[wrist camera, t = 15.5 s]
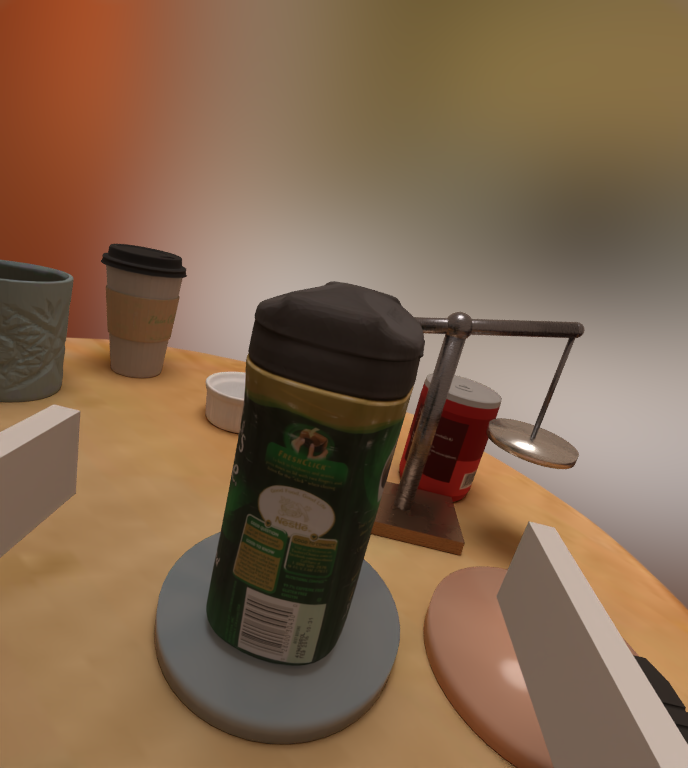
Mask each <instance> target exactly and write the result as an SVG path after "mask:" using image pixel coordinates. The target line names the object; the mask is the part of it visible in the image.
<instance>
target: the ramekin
mask: <svg viewBox="0 0 688 768" xmlns="http://www.w3.org/2000/svg"><path fill="white" fill-rule="evenodd" d="M245 378H246V373H243V372H221V373H216V374H213V375H210V376H209V377H208V378H207V379H206V388H207V398H206V417H207V419H208V420H209V421H210V422H211V423H212V424H213V425H215V426H217V427H218V428H221V429H223V430H226V431H230V432H234V433H239V431H240V424H241V418H242V412H243V403H244V393H245Z"/></svg>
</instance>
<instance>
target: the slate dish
mask: <svg viewBox="0 0 688 768" xmlns="http://www.w3.org/2000/svg"><path fill="white" fill-rule="evenodd" d="M220 533H221V532H219V533H217V534H214V535H212V536H210V537H208V538H206V539H204V540H202V541H201V542H199V543H197V544H196V545H194V546H193V547H192V548H191V549H189V550H188V551H187V552H185V553H184V555H183V556H182V557H181V558H180V559H179V560H178V561H177V562H176V563H175V564H174V566H173V567H172V569H171V570H170V571H169V573H168V575H167V577H166V579H165V581H164V583H163V586H162V589H161V592H160V595H159V601H158V607H157V615H156V622H155V648H156V653H157V659H158V661H159V664H160V667H161V670H162V672H163V675H164V676H165V678H166V680H167V682H168V684H169V685H170V687H171V689H172V690H173V691H174V692H175V694H176V695H177V696H178V697H179V699H180V700H181V701H182V702H183V703H184V704H185V705H186V706H187V707H188V708H189V709H190V710H191V711H192V712H193V713H195V714H196V715H197V716H199V717H200V718H201V719H203V720H204V721H206V722H207V723H209V724H210V725H212V726H214V727H216V728H218V729H220V730H222V731H224V732H226V733H228V734H231V735H234V736H237V737H240V738H244V739H247V740H251V741H257V742H263V743H269V744H293V743H301V742H309V741H312V740H316V739H320V738H324V737H327V736H329V735H331V734H334V733H336V732H338V731H340V730H343V729H344V728H346V727H347V726H349V725H350V724H352V723H354V722H355V721H357V720H358V719H359V718H360V717H361V716H362V715H363V714H365V713H366V712H367V711H368V710H369V709H370V708H371V706H372V705H373V704H374V703H375V701H376V700H377V699H378V698H379V696H380V694H381V692H382V691H383V689H384V687H385V685H386V683H387V680H388V677H389V675H390V672H391V669H392V666H393V663H394V660H395V658H396V655H397V651H398V646H399V641H400V624H399V616H398V612H397V609H396V605H395V602H394V600H393V598H392V595H391V593H390V591H389V589H388V588H387V586H386V584H385V583H384V581H383V580H382V578H381V577H380V576H379V574H378V573H377V572H376V571H375V570H374V569H373V568H372V567H371V565H370V564H369V563H368V562H366V561H365V560H364V559H363V563H362V567H361V571H360V575H359V579H358V582H357V585H356V589H355V592H354V595H353V599H352V602H351V605H350V609H349V612H348V615H347V619H346V622H345V624H344V627H343V630H342V632H341V635H340V637H339V639H338V641H337V643H336V645H335V647H334V648H333V649H332V650H331V652H330V653H329V654H328V655H327V656H326V657H324V658H322V659H321V660H319V661H317V662H315V663H312V664H307V665H300V666H291V665H283V664H274V663H269V662H266V661H263V660H260V659H257V658H254V657H252V656H249V655H247V654H245V653H243V652H241V651H239V650H237V649H236V648H234V647H233V646H231V645H230V644H228V643H226V642H225V641H224V640H222V639H221V638H220V637H219V636H218V635H217V634H216V633H215V632H214V630H213V629H212V627H211V626H210V623H209V621H208V618H207V613H206V604H207V598H208V593H209V588H210V582H211V577H212V571H213V566H214V562H215V557H216V552H217V547H218V542H219V538H220Z"/></svg>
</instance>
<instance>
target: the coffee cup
mask: <svg viewBox="0 0 688 768" xmlns="http://www.w3.org/2000/svg"><path fill="white" fill-rule="evenodd" d="M101 262H102V263H103V264H105V265H106V267H107V286H106V302H107V325H108V332H109V338H110V359H111V369H112V370H113V371H114V372H116V373H118V374H121V375H124V376H128V377H134V378H149V377H154V376H156V375H158V374H160V373H161V370H162V366H163V362H164V357H165V353H166V349H167V344H168V340H169V339H170V337H171V332H172V328H173V324H174V319H175V315H176V310H177V306H178V302H179V291H180V286H181V282H182V278H184V277H186V276H187V275H186V268H184V267H183V266H182V258H181V257H179V256H177V255H174V254H171V253H168V252H164V251H160V250H155V249H151V248H145V247H140V246H134V245H126V244H111V245H110V246H109V251H108V253H104V254H103V258H102V260H101Z"/></svg>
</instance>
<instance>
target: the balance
mask: <svg viewBox="0 0 688 768" xmlns="http://www.w3.org/2000/svg"><path fill="white" fill-rule="evenodd" d="M414 318H415V319H416V320H417V321H418V323H419V324H420V325H421V327H422V330H423V333H435V334H436V333H437V334H445V338H444V341H443V344H442V347H441V351H440V354H439V357H438V360H437V364H436V367H435V370H434V373H433V376H432V380H431V383H430V386H429V389H428V393H427V396H426V399H425V402H424V406H423V409H422V412H421V415H420V419H419V422H418V425H417V428H416V432H415V435H414V438H413V441H412V445H411V448H410V451H409V454H408V458H407V461H406V464H405V468H404V471H403V474H402V477H401V481H400V484H395V483H391V482H387V481H386V483H385V486H384V490H383V493H382V497H381V501H380V504H379V508H378V511H377V515H376V518H375V521H374V524H373V528H372V531H371V534H375V535H379V536H383V537H387V538H391V539H395V540H400V541H404V542H408V543H412V544H416V545H420V546H424V547H428V548H433V549H437V550H441V551H445V552H449V553H453V554H457V555H460V554H461V552H462V549H463V546H464V544H465V543H464V539H463V536H462V532H461V529H460V526H459V522H458V519H457V515H456V512H455V508H454V505H453V501H452V498H451V497H448V496H444V495H440V494H436V493H432V492H428V491H424V490H420V489H418V486H419V483H420V480H421V476H422V473H423V470H424V467H425V464H426V461H427V458H428V455H429V452H430V449H431V445H432V442H433V439H434V436H435V433H436V430H437V427H438V424H439V421H440V418H441V414H442V411H443V408H444V405H445V402H446V399H447V396H448V393H449V390H450V387H451V383H452V380H453V377H454V374H455V371H456V368H457V365H458V362H459V358H460V355H461V352H462V349H463V346H464V343H465V340H466V338H468V337H469V336H470V335H496V336H497V335H498V336H527V337H558V338H569V340H568V342H567V345H566V347H565V350H564V353H563V355H562V358H561V360H560V363H559V365H558V368H557V370H556V373H555V375H554V378H553V380H552V383H551V385H550V388H549V391H548V393H547V396H546V398H545V401H544V403H543V406H542V409H541V411H540V413H539V416H538V418H537V421H536V424H535V426H534V425H531V424H528V423H525V422H521V421H516V420H511V419H502V418H500V419H493V420H491V421H490V422H489V425H488V428H487V431H486V434H487V436H488V438H489V439H490V440H491V441H492V442H493V443H494V444H496V445H497V446H498V447H500V448H501V449H503V450H505V451H506V452H508V453H510V454H512V455H514V456H517V457H519V458H521V459H523V460H526V461H528V462H531V463H534V464H537V465H541V466H544V467H549V468H555V469H569V468H572V467H573V466H574V465H575V463H576V461H577V459H578V456H579V454H578V451H577V450H576V449H575V448H574V447H573V446H572V445H571V444H570V443H569V442H567V441H566V440H564V439H562V438H561V437H559V436H557V435H555V434H553V433H551V432H549V431H547V430H544V429H542V428H540V425H541V423H542V420H543V418H544V415H545V413H546V410H547V408H548V405H549V403H550V400H551V397H552V395H553V393H554V390H555V387H556V385H557V383H558V380H559V378H560V375H561V373H562V370H563V368H564V365H565V362H566V360H567V358H568V355H569V352H570V349H571V347H572V345H573V342H574V340H575V338H578V337H580V336H582V334H583V333H584V326H583V325H582V324H580V323H578V322H552V321H551V322H550V321H519V320H485V319H484V320H483V319H471V317H470V316H469V315H467V314H465V313H462V312H457V313H453V314H451V315H450V316H449V317H448V318H419V317H414Z"/></svg>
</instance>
